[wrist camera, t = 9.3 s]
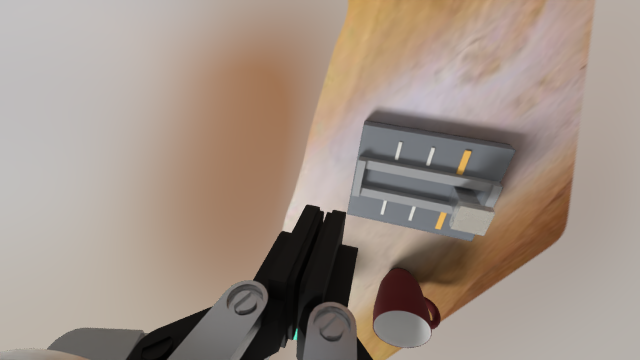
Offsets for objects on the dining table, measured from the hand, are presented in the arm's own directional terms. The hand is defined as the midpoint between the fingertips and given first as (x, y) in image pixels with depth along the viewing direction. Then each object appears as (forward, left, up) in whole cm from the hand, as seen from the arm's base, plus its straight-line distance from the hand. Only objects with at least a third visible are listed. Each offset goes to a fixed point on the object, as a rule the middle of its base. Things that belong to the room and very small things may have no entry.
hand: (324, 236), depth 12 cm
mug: (+28, +12, -28) cm, 41 cm away
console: (+9, +9, -28) cm, 30 cm away
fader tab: (+9, +14, -25) cm, 30 cm away
